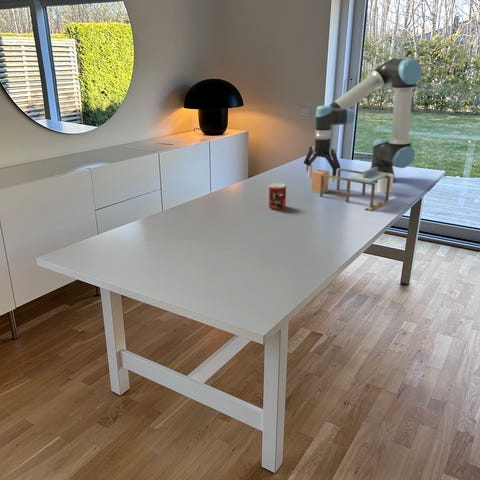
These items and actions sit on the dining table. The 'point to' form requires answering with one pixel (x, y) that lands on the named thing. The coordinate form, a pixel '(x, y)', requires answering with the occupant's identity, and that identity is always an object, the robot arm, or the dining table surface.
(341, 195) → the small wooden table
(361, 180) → the lid
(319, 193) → the felt pad
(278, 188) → the canned food
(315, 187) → the block
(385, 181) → the white cup
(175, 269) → the dining table surface
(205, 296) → the dining table surface
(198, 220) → the dining table surface
